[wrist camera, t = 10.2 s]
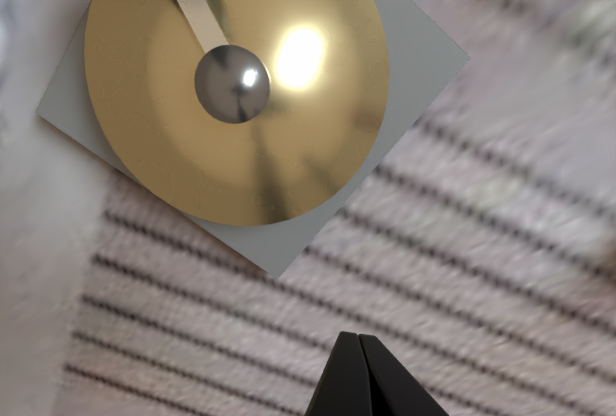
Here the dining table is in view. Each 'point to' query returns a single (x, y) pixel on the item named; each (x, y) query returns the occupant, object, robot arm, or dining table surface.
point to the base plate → (302, 229)
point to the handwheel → (239, 99)
